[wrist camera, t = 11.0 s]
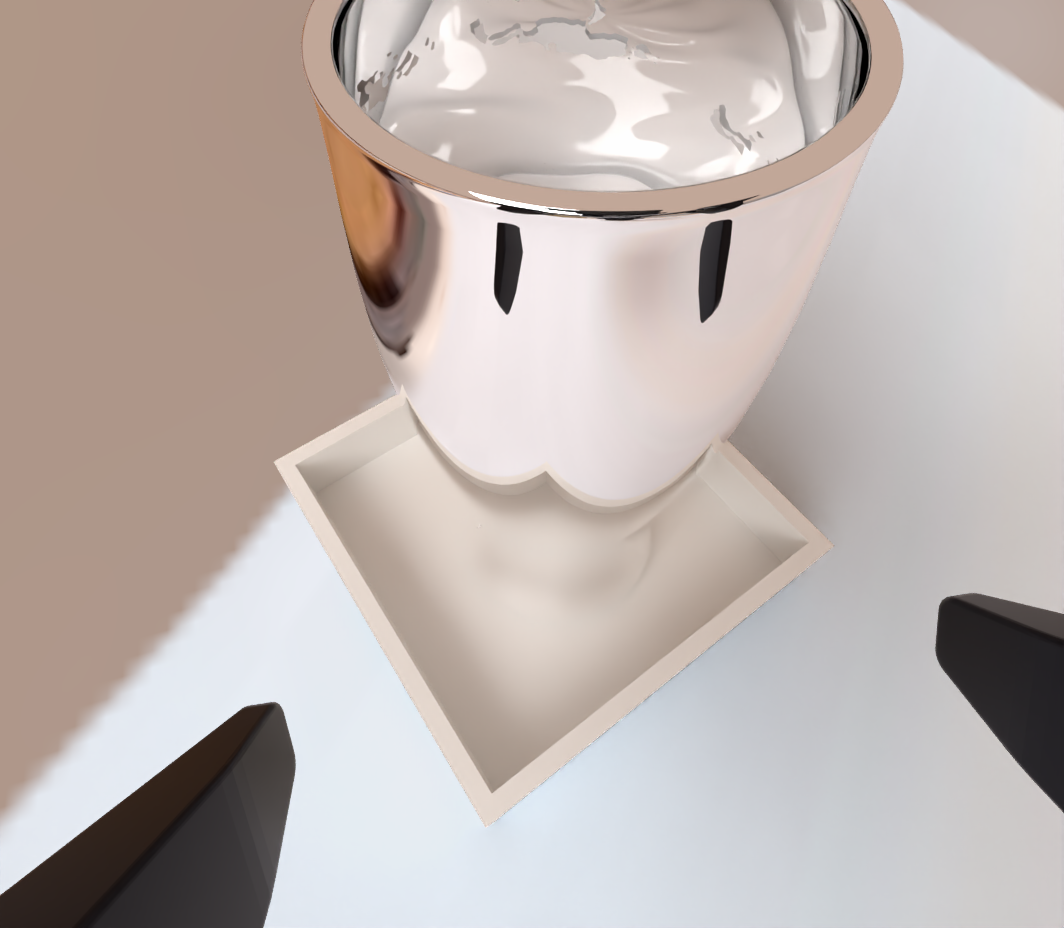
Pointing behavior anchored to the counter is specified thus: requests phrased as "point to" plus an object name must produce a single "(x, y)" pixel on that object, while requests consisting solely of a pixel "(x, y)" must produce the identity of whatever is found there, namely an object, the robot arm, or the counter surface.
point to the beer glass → (588, 242)
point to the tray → (520, 642)
